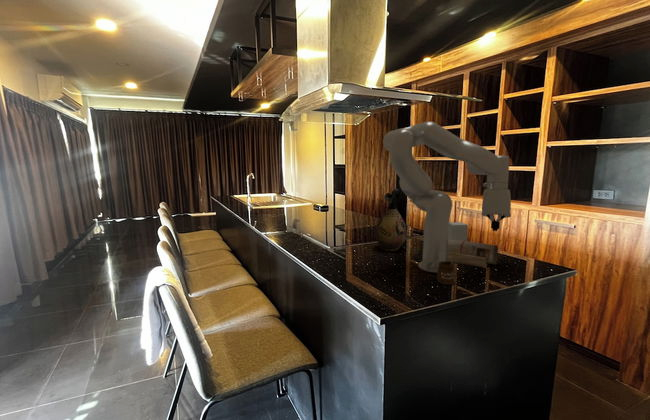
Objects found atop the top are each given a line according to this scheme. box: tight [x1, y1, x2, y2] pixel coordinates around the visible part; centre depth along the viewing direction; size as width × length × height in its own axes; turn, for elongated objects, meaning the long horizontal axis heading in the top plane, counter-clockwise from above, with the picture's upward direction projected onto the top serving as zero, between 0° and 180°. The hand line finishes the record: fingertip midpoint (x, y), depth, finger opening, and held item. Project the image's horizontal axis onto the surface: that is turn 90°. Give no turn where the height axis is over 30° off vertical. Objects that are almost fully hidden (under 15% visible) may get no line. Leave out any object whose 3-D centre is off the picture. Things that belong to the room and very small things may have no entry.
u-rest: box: [447, 252, 489, 269], centre depth 140 cm, size 13×22×4 cm, turn 54°
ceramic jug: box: [374, 188, 408, 252], centre depth 157 cm, size 17×15×30 cm
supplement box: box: [448, 221, 469, 241], centre depth 157 cm, size 7×7×13 cm
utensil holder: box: [436, 249, 457, 286], centre depth 113 cm, size 6×6×12 cm
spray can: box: [448, 240, 499, 265], centre depth 136 cm, size 8×8×20 cm
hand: (495, 230), depth 131 cm, fingers closed
